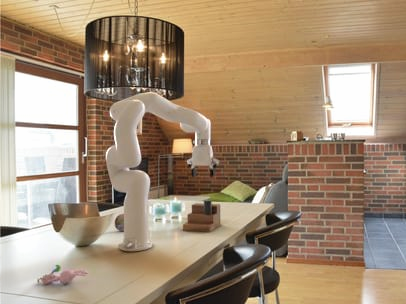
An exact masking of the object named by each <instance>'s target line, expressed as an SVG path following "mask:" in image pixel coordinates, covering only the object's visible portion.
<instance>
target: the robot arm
mask: <svg viewBox="0 0 406 304" xmlns="http://www.w3.org/2000/svg"><path fill="white" fill-rule="evenodd" d="M146 113H149V114H153V115H154V116H157V117H158V118H160V119H162V120H164V121H166V122H169V123H173V124H179V126H180V129H181V131H183V132H184V133H187V134H188V133H195V137H194V138H195V139H194V140H193V141H192V144H194V145H193V148H192V154H191V157H190V158H189V159H187V160H186V164H187V165H188V167H189V169H190V171H191V173H190V174H191V177H192V178H196V177H197V169H196V168H197V167H198V166H199V167H203V166H205V167H209V168H210V169H209V178H211V179H212V178H214V176H215V170H216V168H217V167H218V166H219V164H220V160H219V159H218V158H216V157H214V151H213V146H212V145H211V120H210V119H209V118H207V117H206V116H205V115H203V114H201V113H200V112H198V111H196V110H194V109H191V108H188V107H184V106H182V105H179V104H175V103H174V102H173V101H170V100H169V99H167V98H165V97H164V96H162V95H161V94H159V93H157V92H153V91H149V92H142V93H141V92H140V93H138V94H135V95H132V96H130V97H127V98H123V99H121V100H119V101H115V102H114V103H113V104H112V105H111V106H110V109H109V116H110V117H111V119H112V120H113V121H115V125H114V129H113V136H114V142H115V144H114V145H112V146H110V147H109V148H108V149H107V151H106V153H105V162H106V164H105V165H106V168H107V171H108V172H107V173H108V176H109V179H110V183H111V185H112V188H113V189H114V190H115V191H117V192H119V193H124V194H125V193H126V195H125V198H124V200H123V214H124V231H123V237H124V238H122V239H123V240H122V242H121V243H118V244H117V247H118V249H120V250H121V251H124V252H141V251H145V250H149V249H151V248H152V247H153V242H151V241H149V193H150V187H151V179H150V176H149V175H148V173H147V172H145V171H144V170H139V169H133V168H137V167H138V166H139V165H140V164H141V162H142V153H141V149H140V145H139V139H138V134H137V129H138V126H139V123H140V122H141V120H142V119H143V118H144V116H145V114H146ZM214 162H215V163H214Z"/></svg>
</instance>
